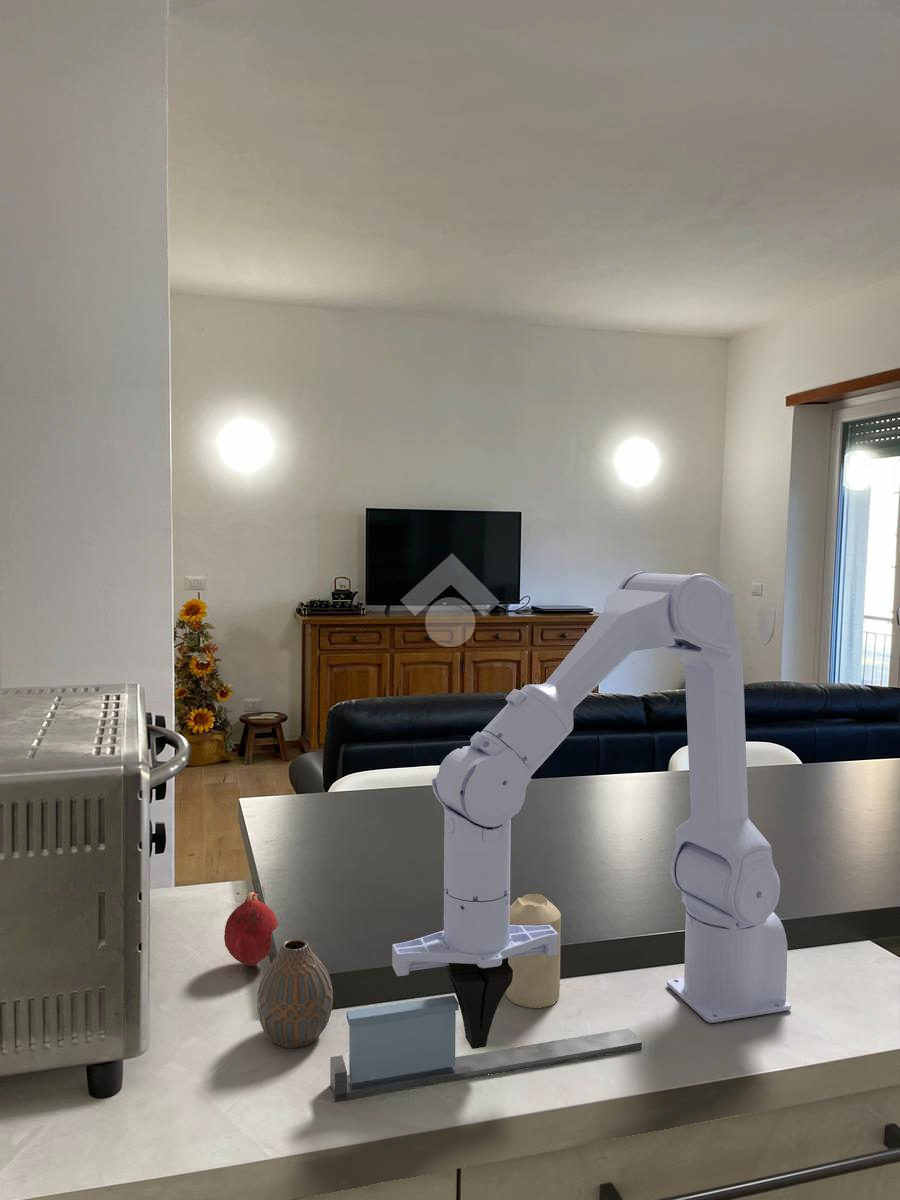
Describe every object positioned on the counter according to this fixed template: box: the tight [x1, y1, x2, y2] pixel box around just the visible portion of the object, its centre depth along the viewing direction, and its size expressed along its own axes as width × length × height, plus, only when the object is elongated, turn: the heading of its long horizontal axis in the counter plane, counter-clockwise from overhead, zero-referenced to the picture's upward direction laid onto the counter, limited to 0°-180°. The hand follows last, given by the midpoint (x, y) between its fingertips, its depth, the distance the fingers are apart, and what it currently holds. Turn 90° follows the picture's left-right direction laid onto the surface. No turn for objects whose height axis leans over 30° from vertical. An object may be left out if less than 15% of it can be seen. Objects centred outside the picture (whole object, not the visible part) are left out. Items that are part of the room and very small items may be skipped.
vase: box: [256, 938, 334, 1049], centre depth 81 cm, size 7×7×9 cm
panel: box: [346, 994, 460, 1083], centre depth 74 cm, size 9×1×6 cm, turn 106°
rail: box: [329, 1028, 643, 1103], centre depth 76 cm, size 28×2×2 cm, turn 106°
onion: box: [223, 891, 279, 967], centre depth 94 cm, size 6×6×8 cm
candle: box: [505, 893, 562, 1009], centre depth 89 cm, size 6×6×10 cm
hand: (475, 1042), depth 76 cm, fingers closed
